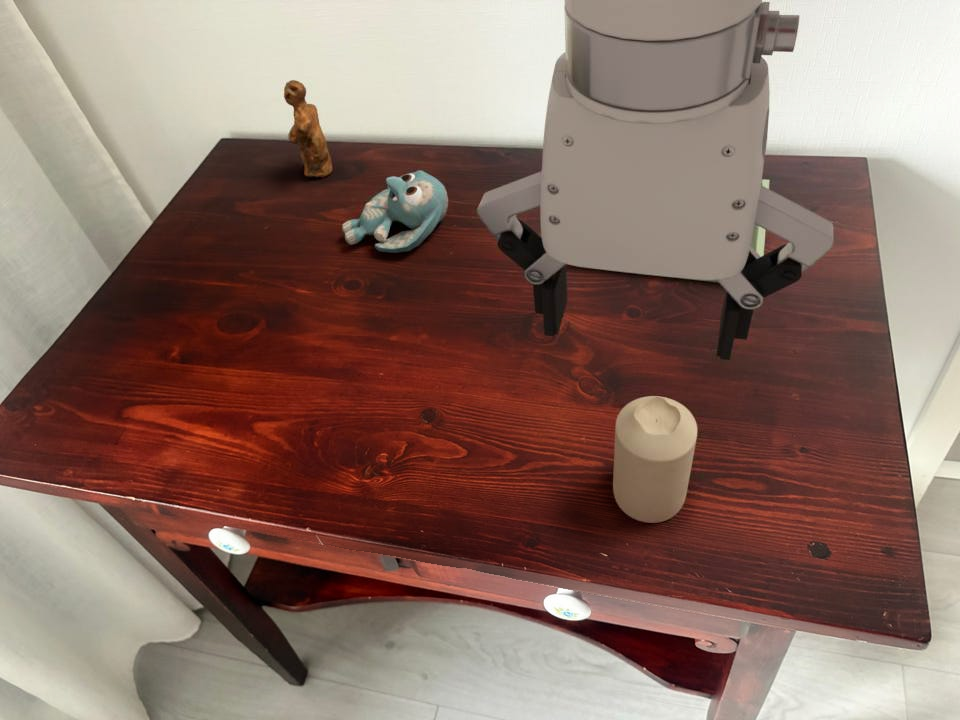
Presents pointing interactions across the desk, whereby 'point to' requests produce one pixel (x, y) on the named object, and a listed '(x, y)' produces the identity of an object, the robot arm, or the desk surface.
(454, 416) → the desk surface
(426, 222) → the stuffed animal
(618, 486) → the candle
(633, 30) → the robot arm
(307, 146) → the figurine
